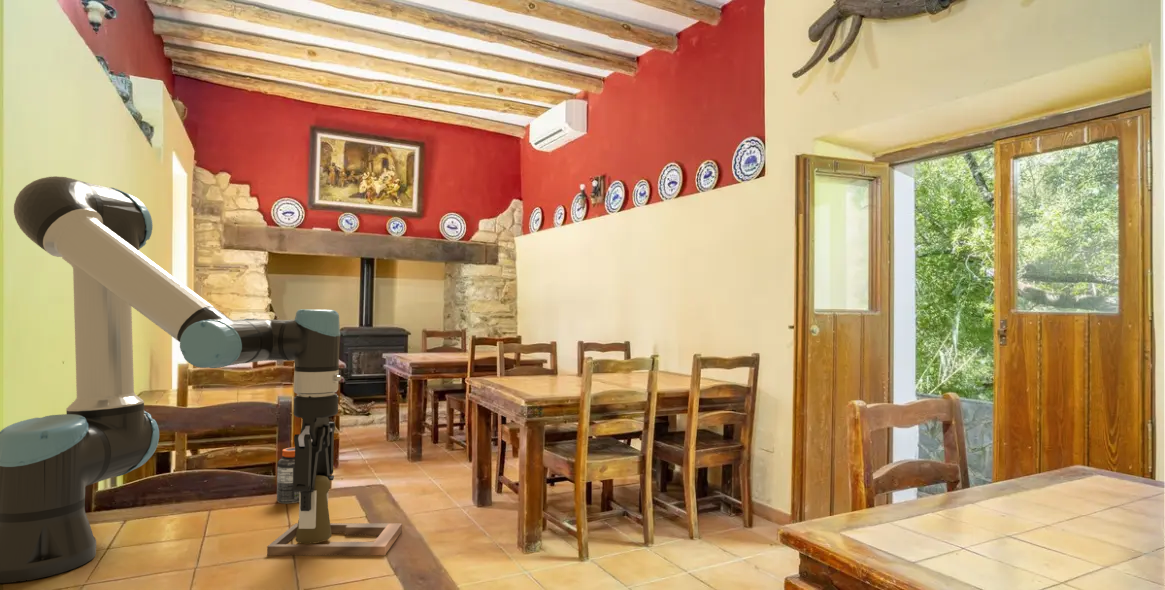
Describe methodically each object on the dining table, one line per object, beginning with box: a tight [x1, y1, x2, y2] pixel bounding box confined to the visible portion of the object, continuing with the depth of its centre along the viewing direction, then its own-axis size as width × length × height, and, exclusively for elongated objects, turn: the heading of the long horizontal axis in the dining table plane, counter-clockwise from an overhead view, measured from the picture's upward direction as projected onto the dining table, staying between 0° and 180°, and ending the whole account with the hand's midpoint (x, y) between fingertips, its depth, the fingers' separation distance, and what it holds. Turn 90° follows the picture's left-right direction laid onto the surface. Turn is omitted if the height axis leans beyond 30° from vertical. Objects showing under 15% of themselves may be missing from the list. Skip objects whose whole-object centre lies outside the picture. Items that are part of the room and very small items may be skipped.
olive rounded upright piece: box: [295, 475, 332, 544], centre depth 116 cm, size 6×6×11 cm
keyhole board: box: [266, 522, 403, 556], centre depth 116 cm, size 20×12×2 cm, turn 92°
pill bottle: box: [276, 446, 299, 504], centre depth 142 cm, size 6×6×11 cm
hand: (313, 522), depth 116 cm, fingers closed on olive rounded upright piece, 5 cm apart
